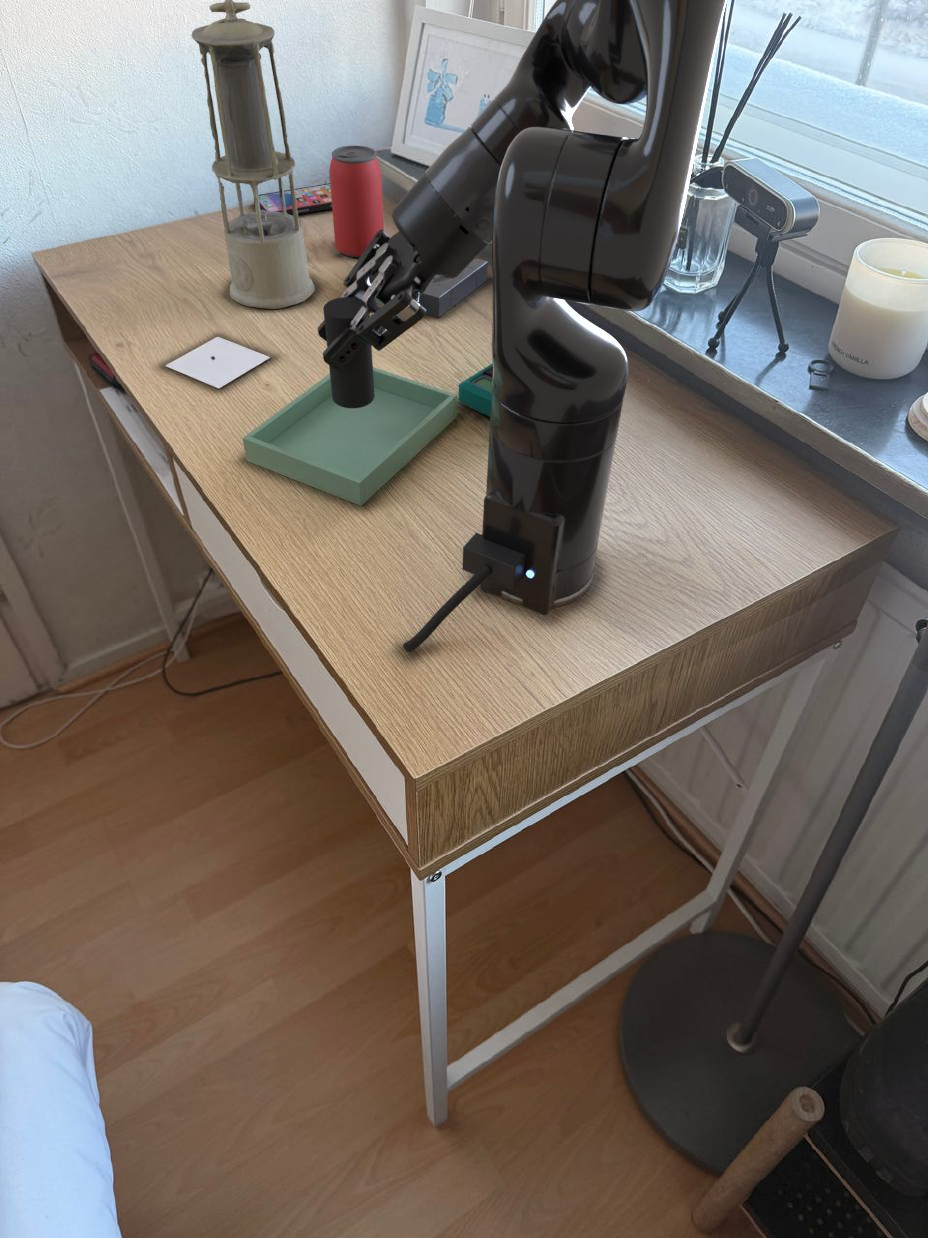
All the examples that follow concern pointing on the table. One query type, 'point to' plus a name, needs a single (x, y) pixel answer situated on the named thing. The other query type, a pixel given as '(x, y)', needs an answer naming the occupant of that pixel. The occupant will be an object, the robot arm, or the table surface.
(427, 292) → the drain plate
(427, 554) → the table surface
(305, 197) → the smartphone
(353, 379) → the black cylinder
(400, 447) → the basin tray
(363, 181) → the beer can
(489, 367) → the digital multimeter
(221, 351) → the coaster
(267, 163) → the lamp
